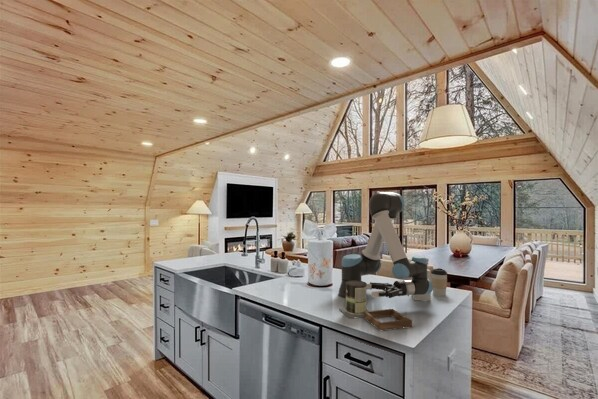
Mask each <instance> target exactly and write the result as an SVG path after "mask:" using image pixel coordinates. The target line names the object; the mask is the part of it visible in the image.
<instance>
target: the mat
mask: <svg viewBox="0 0 598 399" xmlns="http://www.w3.org/2000/svg"><path fill="white" fill-rule="evenodd" d="M338 310H339V311H340V312H341V311H342V312H343V313H344V314H343V313H342V312H341V313H342V314H343V315H344V316H346V315H347V316H348V317H349V318H351V319H355V318H354V317H362V318H364V314H363V315H353V314H349V313H347V312H346V307H340V308H338ZM366 311H369V310H368V309H367V308H366ZM347 316H346V317H347ZM348 317H347V318H348Z"/></svg>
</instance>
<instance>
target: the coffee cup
mask: <svg viewBox="0 0 598 399" xmlns="http://www.w3.org/2000/svg"><path fill="white" fill-rule="evenodd" d="M430 273H431V282H432V285H433V290H432V294H433V295H434V296H437V297H438V296H439V297H445V296H446V294H447V288H448V287H447V286H448V285H447V284H448V272H447V270H445V269H443V268H441V267H440V268H433V269H432V270H430Z"/></svg>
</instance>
